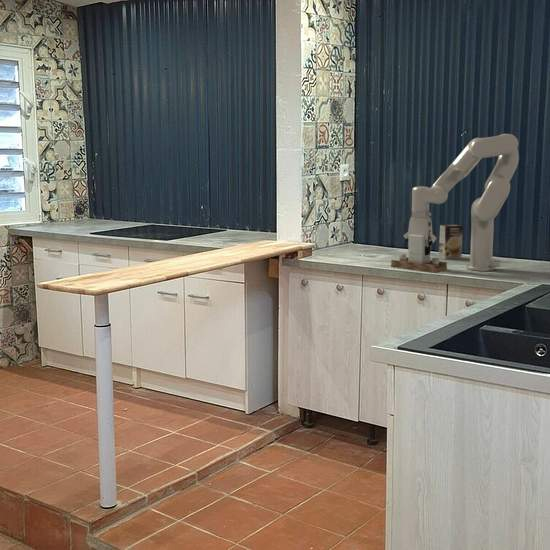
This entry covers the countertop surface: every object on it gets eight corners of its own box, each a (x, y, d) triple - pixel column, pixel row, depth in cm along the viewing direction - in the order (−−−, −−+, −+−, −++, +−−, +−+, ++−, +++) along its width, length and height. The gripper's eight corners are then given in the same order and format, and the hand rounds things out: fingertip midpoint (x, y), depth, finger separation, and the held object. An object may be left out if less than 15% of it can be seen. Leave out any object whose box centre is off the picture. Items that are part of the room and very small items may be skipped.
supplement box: (430, 262, 352) (431, 234, 350) (421, 264, 347) (422, 236, 344) (416, 260, 357) (417, 233, 355) (407, 262, 352) (408, 234, 349)
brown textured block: (446, 269, 349) (447, 257, 348) (433, 272, 341) (434, 260, 340) (404, 263, 364) (404, 252, 363) (391, 267, 356) (391, 255, 355)
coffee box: (444, 259, 374) (445, 226, 371) (438, 257, 380) (439, 224, 377) (462, 258, 377) (463, 225, 374) (455, 256, 383) (456, 223, 380)
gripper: (442, 215, 345) (440, 255, 348) (408, 212, 356) (407, 251, 360) (433, 216, 340) (432, 257, 343) (398, 214, 351) (398, 253, 354)
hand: (419, 253), depth 351 cm, fingers closed on supplement box, 7 cm apart
